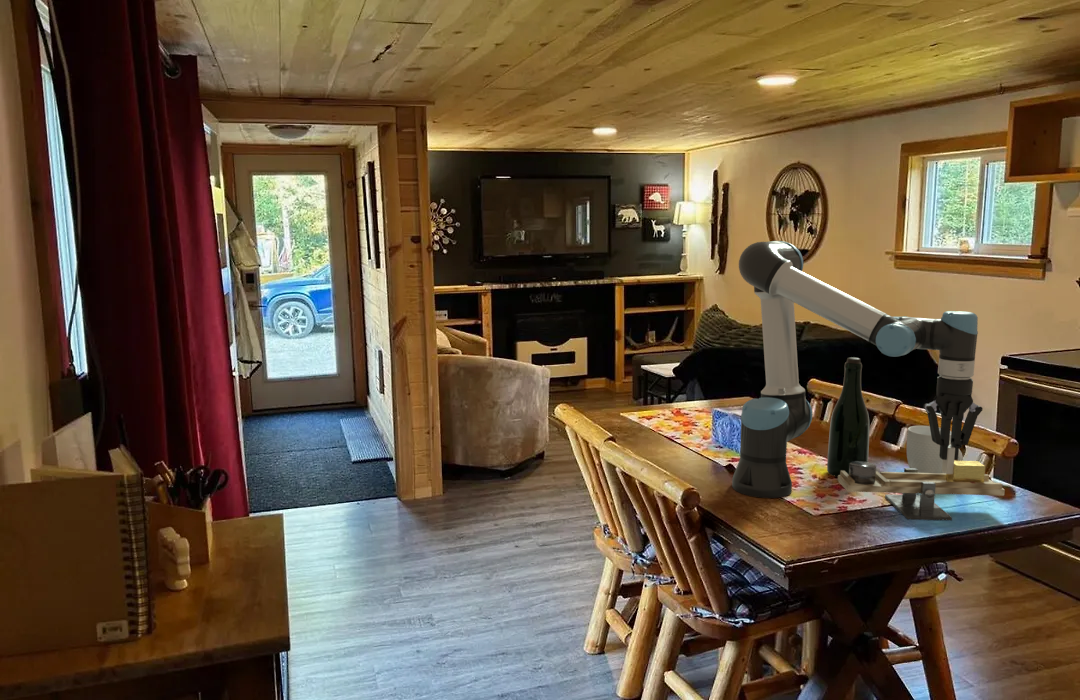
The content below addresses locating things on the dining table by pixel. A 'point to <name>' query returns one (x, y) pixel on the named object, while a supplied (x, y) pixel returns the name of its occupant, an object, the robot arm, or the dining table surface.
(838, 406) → the green wine bottle
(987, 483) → the beam
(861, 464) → the counterweight
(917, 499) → the stand
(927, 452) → the mug
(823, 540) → the dining table surface
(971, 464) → the rider
